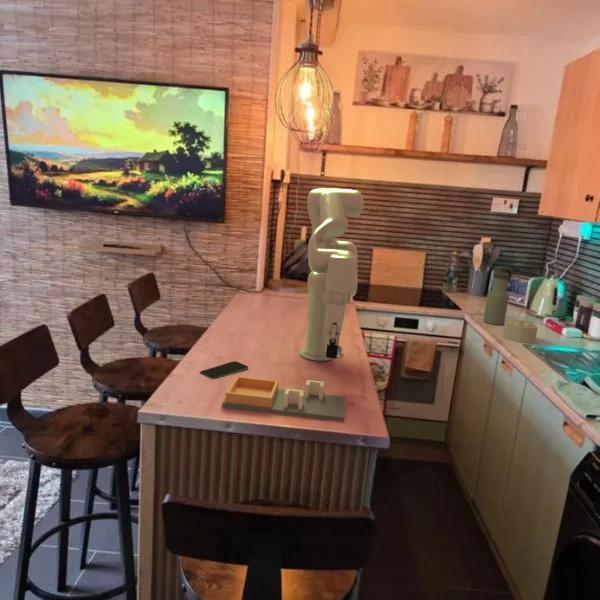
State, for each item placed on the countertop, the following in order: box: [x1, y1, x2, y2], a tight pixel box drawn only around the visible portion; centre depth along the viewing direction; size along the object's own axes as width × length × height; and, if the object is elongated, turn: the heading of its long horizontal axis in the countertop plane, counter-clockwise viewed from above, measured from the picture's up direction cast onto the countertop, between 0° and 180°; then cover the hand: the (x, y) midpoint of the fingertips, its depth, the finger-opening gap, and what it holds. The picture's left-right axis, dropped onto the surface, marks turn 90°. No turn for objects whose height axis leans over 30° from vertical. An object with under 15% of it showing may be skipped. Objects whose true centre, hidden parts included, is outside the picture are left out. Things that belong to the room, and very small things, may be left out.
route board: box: [221, 379, 346, 423], centre depth 146 cm, size 14×33×5 cm, turn 84°
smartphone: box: [199, 360, 249, 380], centre depth 168 cm, size 7×1×15 cm
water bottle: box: [483, 265, 514, 326], centre depth 253 cm, size 10×10×28 cm
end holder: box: [225, 375, 280, 408], centre depth 147 cm, size 13×13×3 cm
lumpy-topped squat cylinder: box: [502, 318, 538, 345], centre depth 229 cm, size 10×13×9 cm
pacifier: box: [321, 337, 345, 361], centre depth 157 cm, size 7×6×6 cm
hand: (332, 352), depth 158 cm, fingers closed on pacifier, 6 cm apart
